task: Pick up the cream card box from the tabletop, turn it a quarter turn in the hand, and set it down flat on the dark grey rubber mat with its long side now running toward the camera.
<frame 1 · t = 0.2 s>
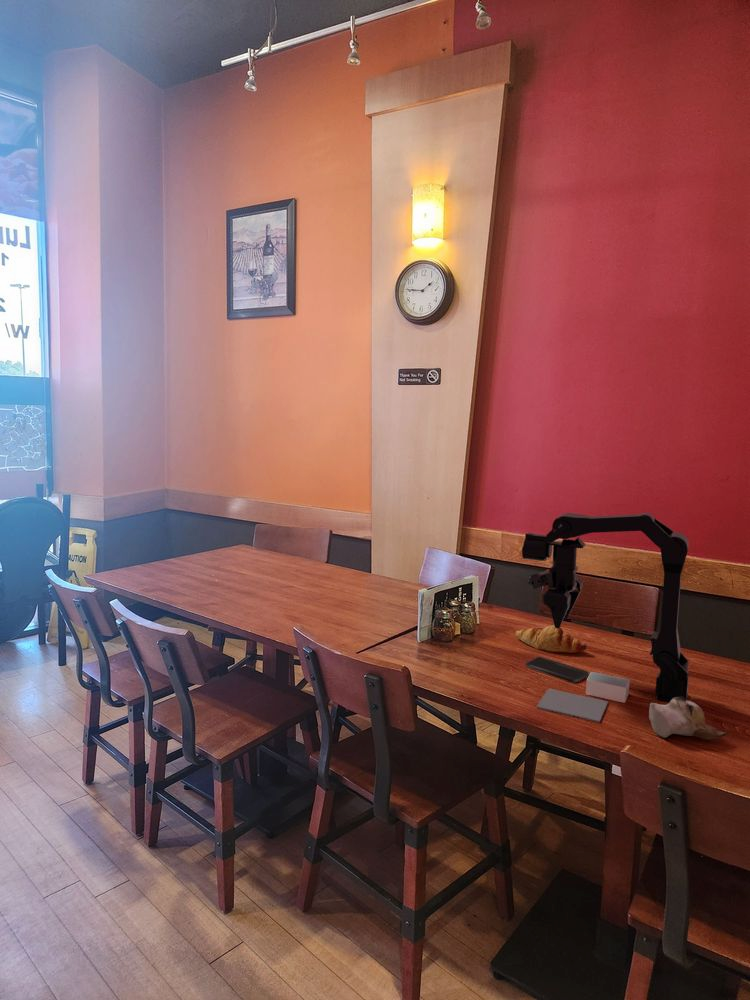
hand: (561, 622, 168), 14 cm above the table, fingers open, 9 cm apart
mat: (572, 705, 153), on the table
phone: (556, 672, 173), on the table
ceramic sculpture: (680, 734, 140), on the table
card box: (607, 695, 159), on the table
croissant: (549, 647, 190), on the table
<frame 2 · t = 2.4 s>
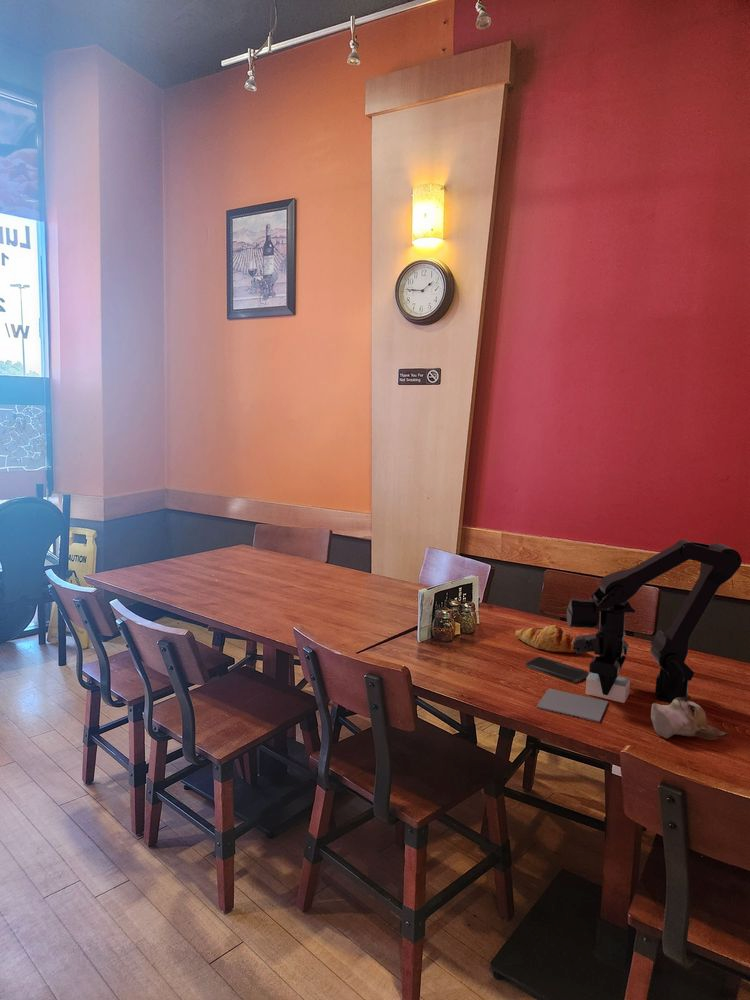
hand: (607, 690, 159), 1 cm above the table, fingers closed on card box, 6 cm apart
card box: (607, 694, 159), on the table, touching gripper
everything else where it was.
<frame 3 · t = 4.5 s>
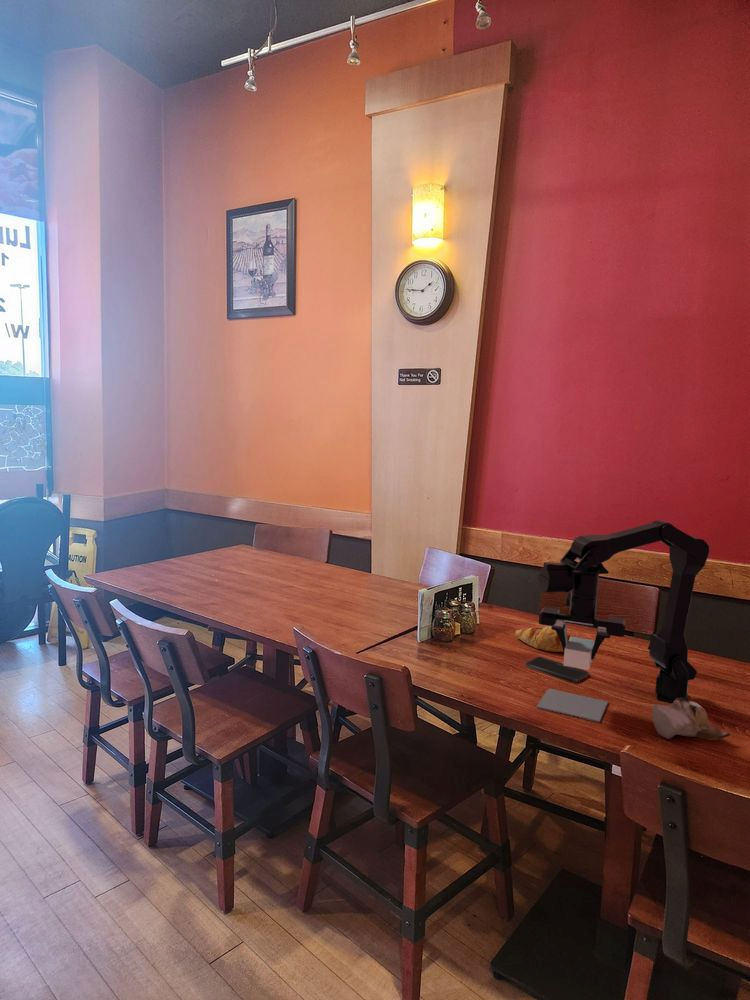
hand: (578, 656, 152), 11 cm above the table, fingers closed on card box, 6 cm apart
card box: (578, 660, 152), point 10 cm above the table, touching gripper
everything else where it was.
when the fingers open (3 cm above the table, at t = 7.0 s): card box drops 2 cm, resting on mat.
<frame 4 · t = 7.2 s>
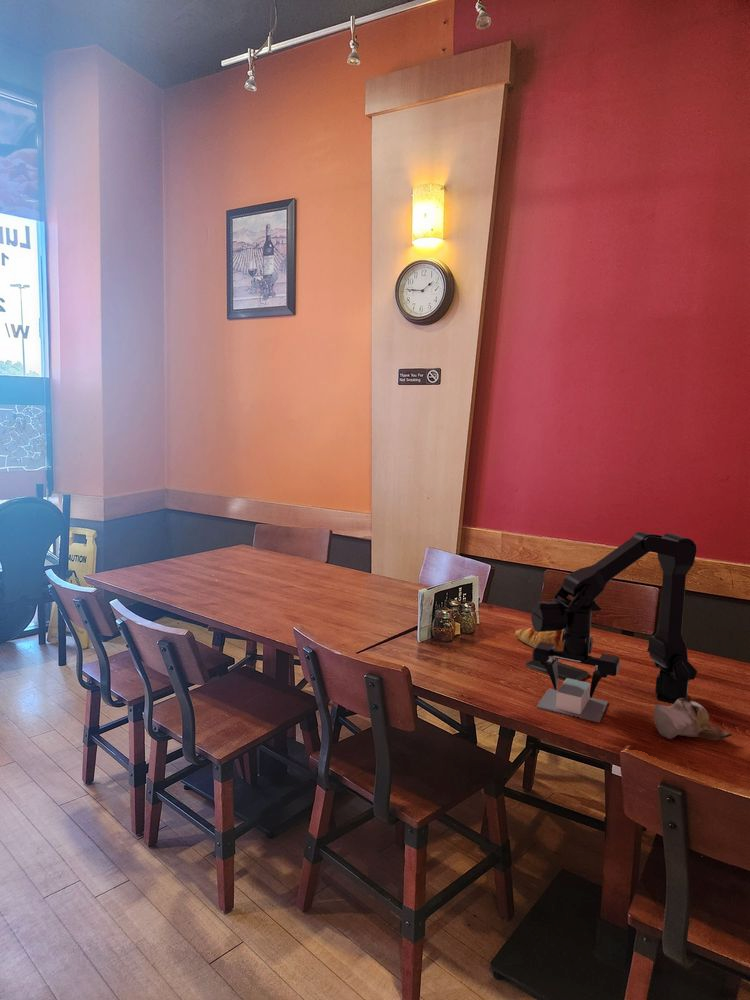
hand: (573, 693, 152), 3 cm above the table, fingers open, 8 cm apart
card box: (572, 703, 153), resting on mat
everything else where it was.
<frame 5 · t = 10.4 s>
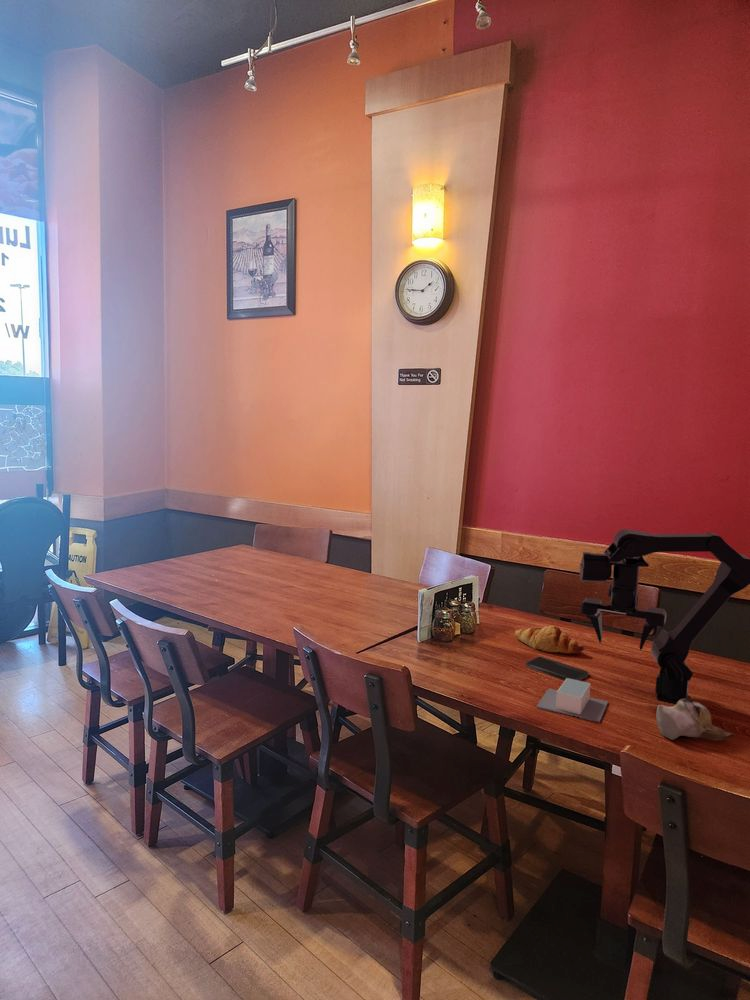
hand: (620, 645, 158), 12 cm above the table, fingers open, 9 cm apart
at the end: card box inside the target area on the mat (0.1 cm from its centre), point 0.4 cm above the mat's base; card box tilted 0°; card box touching mat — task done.
